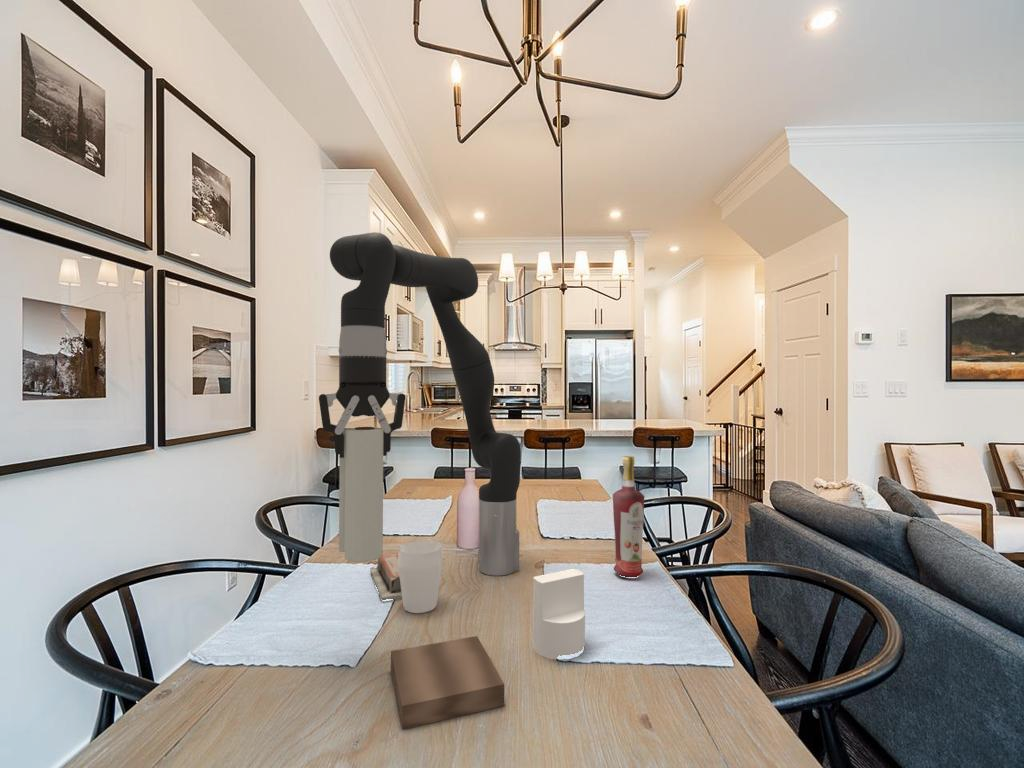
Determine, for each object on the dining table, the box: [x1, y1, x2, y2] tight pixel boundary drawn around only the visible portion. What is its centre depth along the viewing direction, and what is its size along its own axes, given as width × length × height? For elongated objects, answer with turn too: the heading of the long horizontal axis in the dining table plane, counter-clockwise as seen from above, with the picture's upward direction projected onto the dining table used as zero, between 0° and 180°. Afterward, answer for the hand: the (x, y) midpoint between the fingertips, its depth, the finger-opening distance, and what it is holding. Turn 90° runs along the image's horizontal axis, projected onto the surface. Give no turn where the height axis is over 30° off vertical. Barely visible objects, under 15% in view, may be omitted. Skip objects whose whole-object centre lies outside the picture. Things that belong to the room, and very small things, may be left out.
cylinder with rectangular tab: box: [532, 568, 586, 660], centre depth 84 cm, size 9×9×12 cm
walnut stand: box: [390, 635, 505, 730], centre depth 72 cm, size 14×14×3 cm
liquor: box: [612, 455, 645, 577], centre depth 116 cm, size 7×7×28 cm
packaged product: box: [369, 552, 403, 601], centre depth 111 cm, size 18×5×10 cm
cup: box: [397, 539, 444, 614], centre depth 99 cm, size 9×9×12 cm
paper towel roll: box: [338, 426, 384, 563], centre depth 81 cm, size 7×6×21 cm
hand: (362, 455), depth 81 cm, fingers closed on paper towel roll, 6 cm apart
